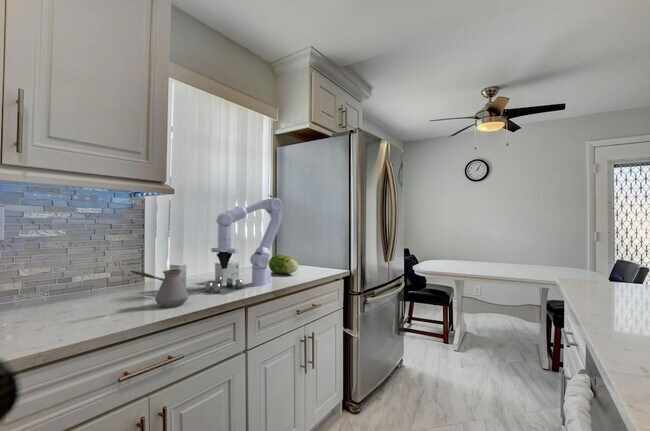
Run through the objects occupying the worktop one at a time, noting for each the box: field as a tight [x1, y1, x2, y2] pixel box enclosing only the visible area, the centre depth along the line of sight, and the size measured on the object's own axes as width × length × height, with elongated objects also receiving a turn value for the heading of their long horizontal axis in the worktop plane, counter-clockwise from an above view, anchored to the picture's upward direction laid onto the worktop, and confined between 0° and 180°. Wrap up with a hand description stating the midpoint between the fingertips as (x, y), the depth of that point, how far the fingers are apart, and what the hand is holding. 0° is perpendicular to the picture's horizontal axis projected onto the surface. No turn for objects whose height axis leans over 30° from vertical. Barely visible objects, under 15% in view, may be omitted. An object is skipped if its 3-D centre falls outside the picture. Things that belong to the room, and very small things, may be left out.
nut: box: [204, 280, 217, 289], centre depth 146 cm, size 5×5×3 cm
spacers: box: [206, 277, 243, 295], centre depth 143 cm, size 15×16×4 cm
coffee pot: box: [127, 269, 190, 308], centre depth 115 cm, size 21×12×15 cm, turn 148°
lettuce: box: [268, 254, 299, 275], centre depth 188 cm, size 12×21×11 cm, turn 50°
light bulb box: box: [214, 260, 240, 285], centre depth 162 cm, size 11×7×11 cm, turn 145°
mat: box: [193, 284, 247, 296], centre depth 143 cm, size 15×18×1 cm
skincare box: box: [169, 263, 187, 290], centre depth 144 cm, size 6×4×12 cm
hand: (224, 268), depth 145 cm, fingers closed
